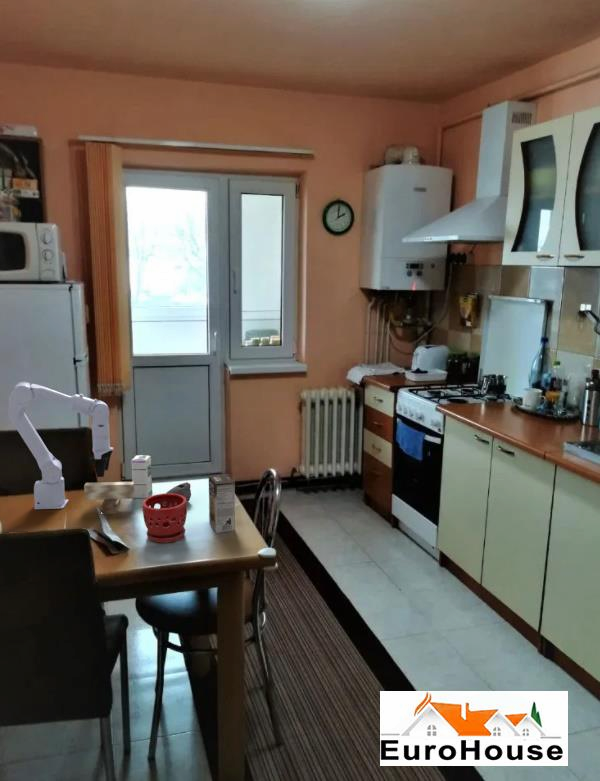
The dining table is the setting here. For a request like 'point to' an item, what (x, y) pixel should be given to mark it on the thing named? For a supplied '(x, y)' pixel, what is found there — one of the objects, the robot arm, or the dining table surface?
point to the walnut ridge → (110, 506)
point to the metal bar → (109, 490)
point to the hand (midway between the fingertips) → (102, 473)
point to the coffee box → (221, 503)
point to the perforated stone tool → (181, 491)
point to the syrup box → (142, 476)
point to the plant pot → (165, 517)
